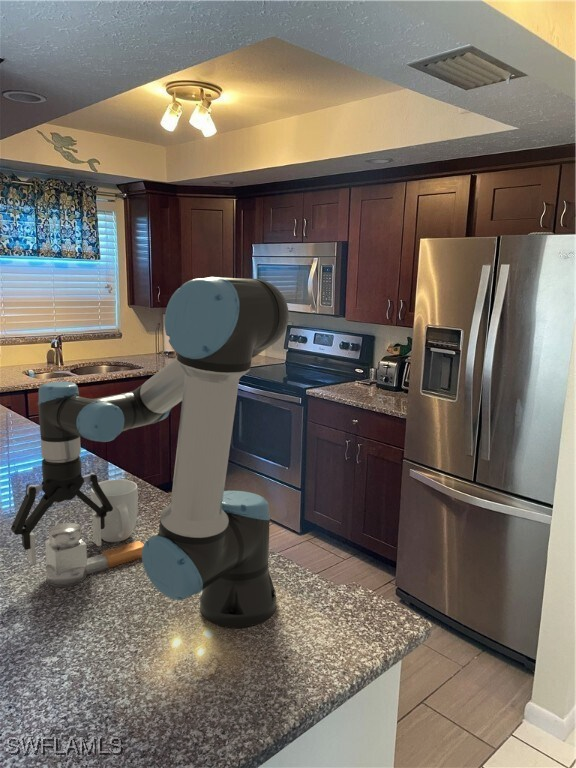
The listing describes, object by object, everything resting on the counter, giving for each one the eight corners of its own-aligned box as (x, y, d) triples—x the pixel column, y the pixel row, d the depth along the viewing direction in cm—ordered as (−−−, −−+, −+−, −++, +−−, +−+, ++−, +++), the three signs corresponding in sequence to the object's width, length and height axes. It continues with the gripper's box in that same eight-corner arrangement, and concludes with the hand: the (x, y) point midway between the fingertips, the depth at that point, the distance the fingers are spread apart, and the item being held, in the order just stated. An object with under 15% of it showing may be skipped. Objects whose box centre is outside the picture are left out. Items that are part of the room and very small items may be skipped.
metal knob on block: (87, 565, 119) (85, 530, 118) (56, 575, 115) (54, 539, 114) (76, 554, 124) (74, 520, 122) (46, 562, 120) (44, 528, 118)
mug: (150, 546, 135) (149, 495, 132) (104, 558, 129) (102, 504, 126) (130, 523, 147) (129, 476, 144) (87, 532, 141) (85, 483, 138)
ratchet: (150, 560, 128) (150, 535, 127) (54, 591, 114) (52, 564, 113) (135, 547, 134) (134, 523, 133) (41, 575, 120) (40, 549, 119)
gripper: (112, 442, 126) (114, 530, 130) (-10, 463, 110) (-3, 563, 114) (126, 451, 120) (128, 542, 124) (0, 474, 104) (7, 578, 108)
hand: (66, 552), depth 119 cm, fingers open, 13 cm apart
